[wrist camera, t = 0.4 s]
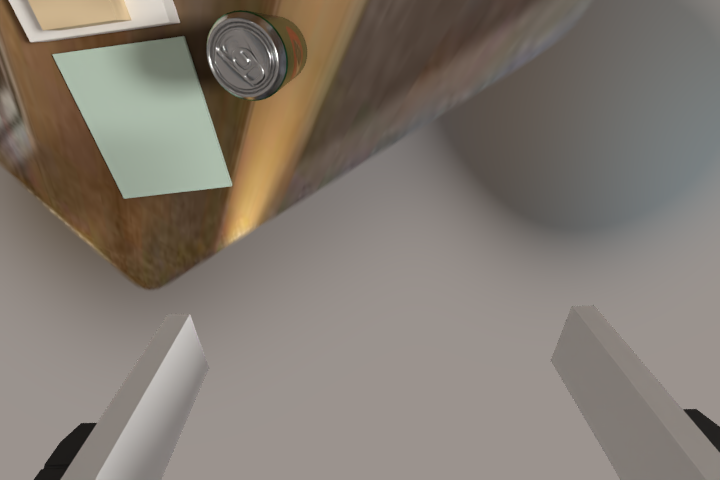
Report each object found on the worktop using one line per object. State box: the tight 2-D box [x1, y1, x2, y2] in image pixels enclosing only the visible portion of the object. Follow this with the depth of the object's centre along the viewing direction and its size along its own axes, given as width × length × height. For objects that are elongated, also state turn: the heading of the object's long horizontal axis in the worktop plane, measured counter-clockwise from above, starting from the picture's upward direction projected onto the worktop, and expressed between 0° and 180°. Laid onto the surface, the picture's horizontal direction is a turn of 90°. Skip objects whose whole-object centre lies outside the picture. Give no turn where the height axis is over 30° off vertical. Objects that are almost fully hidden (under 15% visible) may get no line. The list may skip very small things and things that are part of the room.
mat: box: [52, 36, 232, 199], centre depth 35 cm, size 14×12×1 cm
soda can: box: [206, 10, 307, 101], centre depth 26 cm, size 5×5×12 cm
